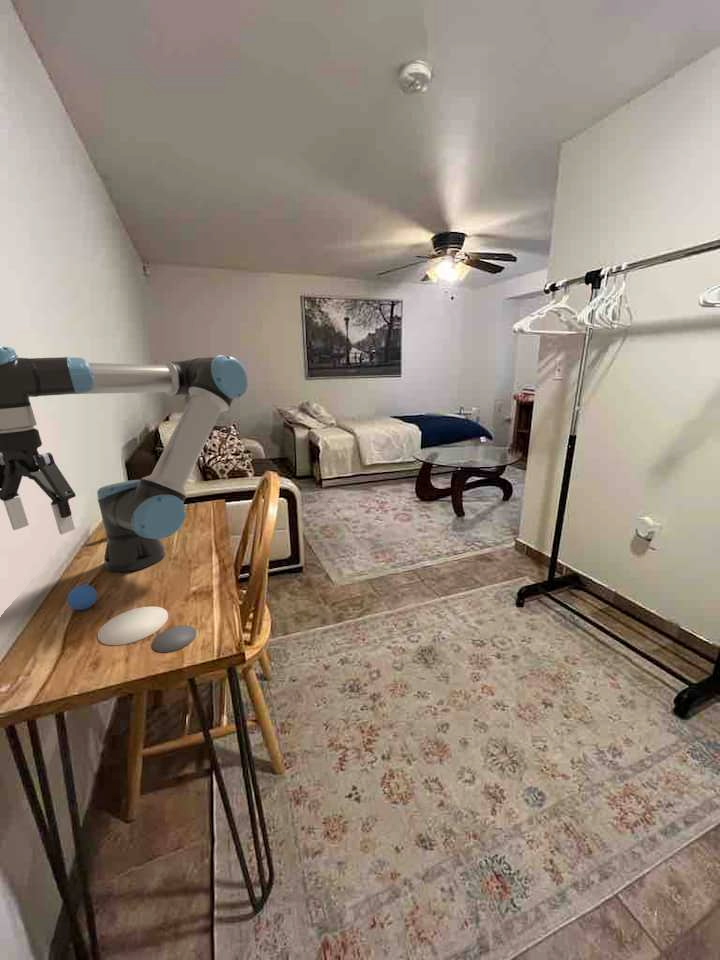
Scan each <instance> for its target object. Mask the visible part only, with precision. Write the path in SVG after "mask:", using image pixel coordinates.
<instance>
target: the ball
mask: <svg viewBox="0 0 720 960" xmlns="http://www.w3.org/2000/svg"><path fill="white" fill-rule="evenodd" d="M97 598H98V592H97V590H96V588H95V587H94V586H92V585H90V584H81V585H77V586H75V587H74V588H72V589H71V590H70V591H69V593H68V595H67V603H68V605H69V607H70V608H72V609H73V610H76V611H83V610H86V609H89V608H90V607H92V606H93V605H94V604H95V603H96V601H97Z"/></svg>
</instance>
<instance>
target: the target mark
mask: <svg viewBox="0 0 720 960" xmlns="http://www.w3.org/2000/svg"><path fill="white" fill-rule="evenodd" d="M168 619H169V611H168V610H166V609H165V608H163V607H160V606H141V607H137V608H133V609H130V610H127V611H125V612H122V613H120V614H118V615H116V616H115V617H112V618H111V619H109V620H108V621H107V622H105V623H104V624H103V625H101V627H100V629H99V630H98V632H97V640H98V641H99V642H100V643H101V644H103V645H108V646H123V645H127V644H132V643H135V642H139V641H141V640H144V639H146V638H148V637H151V635H153V634H155V633H156V632H158V631H159V630H161V629H162V628H163V627H164V626H165V625H166V623H167V622H168Z"/></svg>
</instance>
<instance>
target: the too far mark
mask: <svg viewBox="0 0 720 960" xmlns="http://www.w3.org/2000/svg"><path fill="white" fill-rule="evenodd" d="M196 637H197V630H196V628H195V627H193V626H191V625H185V624H184V625H183V624H182V625H175V626H172V627H168V628H166V629H165V630H163V631H162V632H160V633H158V634H157V635H156V636H155V638H153V640H152V642H151V648H152V649H153V650H154V651H155V652H158V653H172V652H175V651H178V650H180V649H183V648H184V647H187V646H188V645H189V644H191V643H192V642H193V641H194V640H195V639H196Z"/></svg>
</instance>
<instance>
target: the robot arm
mask: <svg viewBox="0 0 720 960" xmlns="http://www.w3.org/2000/svg"><path fill="white" fill-rule="evenodd" d="M248 379H249V378H248V375H247V371H246V369H245V367H244V365H243V364H242V363H241V362H240V361H239V360H238V359H237V358H235V357H234V356H230V355H221V354H220V355H219V354H218V355H216V356H209V357H199V358H198V357H197V358H191V359H186V360H179V361H178V360H177V361H164V362H163V363H162V364H141V363H140V364H139V363H112V362H111V363H106V362H105V363H103V362H101V363H100V362H88V360H86V359H85V358H83V357H70V356H65V357H63V356H62V357H61V356H59V357H33V358H32V357H31V358H30V357H29V358H27V357H19V356H18V354H17V352H16V350H15V349H14V348H12V347H10V346H9V347H8V346H0V500H1V501H2V502H3V504H4V507H5V509H6V513H7V516H8V520H9V523H10V524H11V527H12V530H13V531H17V530H20V529H22V528H25V527H28V526H30V524H29V522H28V518H27V515H26V512H25V509H24V505H23V503H22V499H21V497H20V494H19V493H18V491H19V488H20V485H21V482H22V478H23V477H24V478H25V477H26V478H28V479H30V480H33V481H34V482H35V484H37V485H38V487H40V489H41V490H42V491H43V492H44V494H46V496H47V497H48V498H50V501H51V503H50V506H51V510H52V512H53V515H54V520H55V522H56V526H57V530H58V533H59V535H64V534H67V533H69V532H71V531H74V530H76V528H75V524H74V521H73V517H72V511H71V507H70V504H69V500H70V499H72V498H75V497H76V493H75V491H74V490H73V488H72V487H71V485H70V484H69V482H68V481H67V479H66V477H65V476H64V475H63V473H62V471H61V470H60V469H59V467H58V465H57V464H56V462H55V459H54V457H53V454H52V453H51V452H46V453H41V454H40V453H39V452H38V451H39V450H38V449H39V448H40V447H42V445H43V443H42V439H41V436H40V432H39V429H37V428H35V427H36V425H37V421H36V417H35V414H34V411H33V408H32V404H31V401H30V398H34V397H35V398H36V397H37V398H38V397H46V396H47V397H48V396H63V395H87V394H89V395H91V394H92V395H95V394H98V395H99V394H133V393H135V394H137V393H139V394H141V393H166V395H168V396H183V397H184V396H185V397H190V399H189V401H188V403H187V404H186V406H185V408H184V411H183V412H182V414H181V416H180V418H179V420H178V422H177V424H176V426H175V428H174V429H173V432H172V434H171V435H170V437H169V439H168V441H167V443H166V445H165V447H164V450H163V451H162V453H161V455H160V457H159V459H158V461H157V462H156V465H155V467H154V468H153V470H152V473H151V474H150V475H147V476H143V477H142V478H141V479H133V480H126V481H121V482H116V483H111V484H108V485H104V486H102V487H100V488H99V489H98V490H97V492H96V494H97V503H98V505H99V509H100V514H101V518H102V522H103V526H104V532H105V535H106V547H105V552H104V553H105V554H104V558H103V562H104V567H105V569H106V570H107V571H109V572H112V573H126V572H132V571H138V570H141V569H144V568H147V567H150V566H152V565H155V564H157V563H159V562H160V561H161V560H163V559H164V557H165V556H164V555H166V551H165V546H164V544H163V542H162V540H163V539H166V538H169V537H170V536H173V535H174V534H175V533H177V532H178V531H179V530H180V528H182V526H183V524H184V522H185V519H186V517H187V516H186V515H187V511H186V509H185V508H186V506H185V504H184V502H185V501H186V499H187V493H186V491H185V487H186V484H187V482H188V481H189V479H190V476H191V474H192V472H193V471H194V468H195V465H196V464H197V461H198V460H199V457H200V456H201V453H202V452H203V450H204V447H205V445H206V443H207V441H208V439H209V437H210V436H211V434H212V432H213V429H214V427H215V425H216V423H217V421H218V419H219V417H220V415H221V413H223V412H227V411H228V410H229V408H230V407H231V405H232V402H233V401H234V399H238V398H240V397H243V395H245V393H246V391H247V389H248V385H249V380H248Z"/></svg>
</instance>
